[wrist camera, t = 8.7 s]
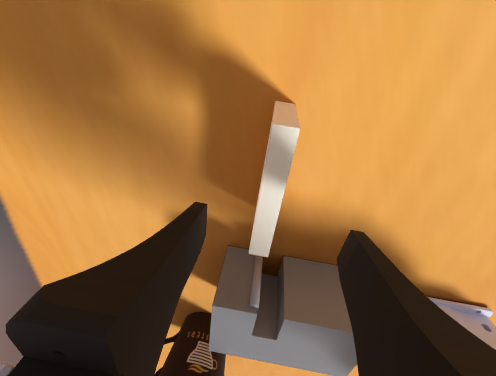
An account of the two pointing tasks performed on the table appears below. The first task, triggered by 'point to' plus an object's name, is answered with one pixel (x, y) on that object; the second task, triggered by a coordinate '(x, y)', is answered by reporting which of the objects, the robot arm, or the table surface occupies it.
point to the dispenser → (282, 314)
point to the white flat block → (274, 175)
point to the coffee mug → (193, 350)
